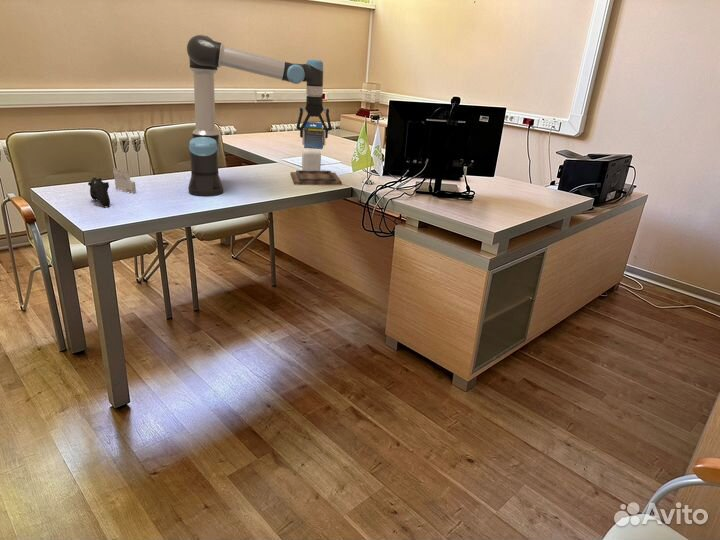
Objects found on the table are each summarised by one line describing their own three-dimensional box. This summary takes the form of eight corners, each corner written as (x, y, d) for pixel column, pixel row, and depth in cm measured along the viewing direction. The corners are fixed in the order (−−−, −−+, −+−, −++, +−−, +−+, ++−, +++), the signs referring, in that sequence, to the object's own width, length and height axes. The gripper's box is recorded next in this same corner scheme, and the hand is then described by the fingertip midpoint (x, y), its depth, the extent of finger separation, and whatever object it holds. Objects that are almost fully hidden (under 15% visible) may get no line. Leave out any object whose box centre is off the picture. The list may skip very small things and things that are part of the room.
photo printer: (319, 171, 282) (320, 148, 277) (321, 172, 278) (321, 150, 273) (301, 171, 279) (301, 148, 275) (302, 172, 276) (302, 149, 271)
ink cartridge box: (120, 188, 226) (117, 166, 222) (136, 193, 221) (134, 170, 217) (115, 189, 224) (112, 167, 220) (131, 194, 219) (129, 171, 215)
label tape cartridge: (323, 148, 245) (324, 122, 241) (322, 149, 242) (322, 123, 237) (305, 146, 246) (305, 120, 241) (303, 148, 243) (304, 121, 238)
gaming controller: (86, 200, 207) (82, 176, 203) (101, 198, 211) (98, 174, 207) (98, 208, 198) (95, 183, 194) (114, 206, 202) (111, 181, 198)
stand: (294, 184, 251) (294, 179, 250) (290, 174, 269) (290, 169, 268) (341, 184, 256) (341, 179, 255) (334, 175, 275) (335, 170, 274)
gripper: (291, 95, 229) (291, 145, 238) (339, 97, 233) (337, 146, 242) (290, 94, 236) (290, 142, 245) (336, 95, 240) (335, 143, 249)
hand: (313, 144), depth 243 cm, fingers closed on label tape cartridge, 9 cm apart
